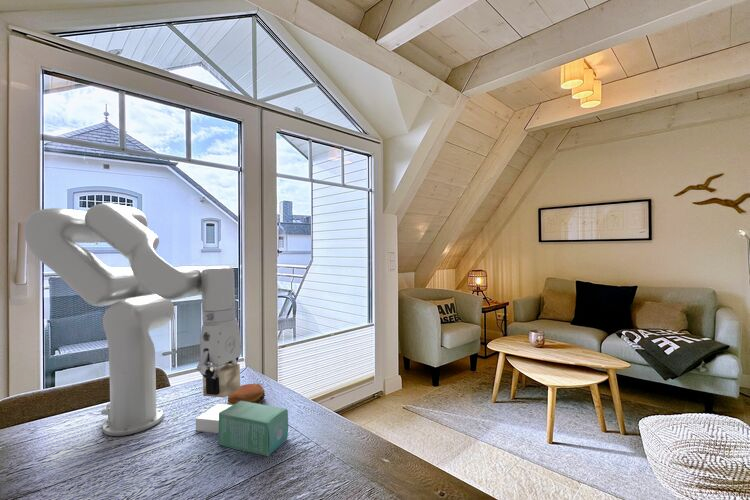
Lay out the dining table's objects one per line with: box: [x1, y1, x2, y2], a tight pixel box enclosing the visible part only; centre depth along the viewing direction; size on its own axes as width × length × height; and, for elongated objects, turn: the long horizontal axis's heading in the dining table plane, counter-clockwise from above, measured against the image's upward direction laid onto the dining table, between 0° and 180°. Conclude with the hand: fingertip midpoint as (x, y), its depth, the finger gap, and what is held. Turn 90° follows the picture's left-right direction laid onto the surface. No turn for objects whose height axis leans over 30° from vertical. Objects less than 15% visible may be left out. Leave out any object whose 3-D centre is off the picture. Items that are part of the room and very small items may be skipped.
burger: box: [227, 383, 266, 405], centre depth 99 cm, size 10×9×5 cm
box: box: [218, 401, 289, 457], centre depth 78 cm, size 7×14×8 cm, turn 71°
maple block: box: [202, 363, 241, 399], centre depth 87 cm, size 6×6×6 cm
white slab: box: [195, 403, 232, 434], centre depth 87 cm, size 8×8×3 cm
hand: (222, 387), depth 87 cm, fingers closed on maple block, 6 cm apart
